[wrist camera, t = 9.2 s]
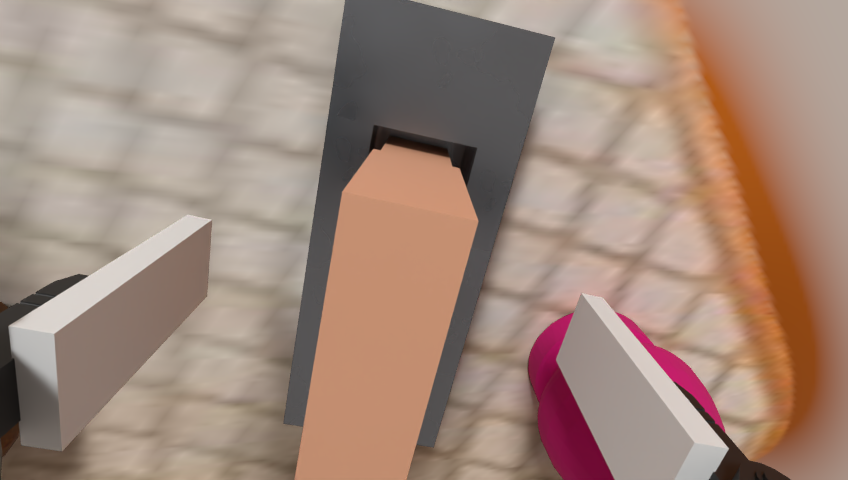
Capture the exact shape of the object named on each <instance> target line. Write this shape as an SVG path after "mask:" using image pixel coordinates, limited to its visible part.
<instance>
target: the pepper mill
mask: <svg viewBox="0 0 848 480" xmlns="http://www.w3.org/2000/svg"><path fill="white" fill-rule="evenodd" d="M615 313H616V312H615ZM573 314H574V313H572V314H569V315H566V316H564V317H562V318H560V319H559V320H557V321H555V322H554V323H552V324H551V325H550V326H549V327H548V328H547V329H545V330H544V332H543V333H542V334H541V335H540V336H539V337H538V338H537V340H536V342H535V344H534V346H533V348H532V350H531V352H530V356H529V365H528V372H529V377H530V380H531V383H532V386H533V388H534V391H535V394H536V396H537V399H538V401H539V408H538V415H537V416H538V429H539V433H540V437H541V441H542V443H543V445H544V447H545V449H546V451H547V454H548V456H549V458H550V460H551V462H552V464H553V466H554V468H555V469H556V470H557V472H558V473H559V474H560V476H561V477H562V478H563V479H564V480H615V479H614V477H613V475H612V473H611V471H610V469H609V467H608V465H607V463H606V461H605V459H604V457H603V455H602V453H601V451H600V449H599V447H598V445H597V443H596V441H595V439H594V437H593V435H592V432H591V430H590V428H589V426H588V424H587V422H586V420H585V418H584V416H583V414H582V412H581V410H580V408H579V406H578V404H577V402H576V400H575V398H574V396H573V394H572V392H571V390H570V388H569V386H568V384H567V382H566V380H565V378H564V376H563V374H562V371H561V369H560V367H559V365H558V363H557V361H556V358H557V355H558V353H559V350H560V348H561V345H562V342H563V340H564V337H565V335H566V332H567V329H568V327H569V324H570V321H571V319H572V316H573ZM616 314H617V315H618V317H619V318H620V319H621V320H622V321H623V323H624V324H625V325H626V326H627V327H628V329H629V330H630V331H631V332H632V333H633V335H634V336H635V337H636V338H637V339H638V341H639V342H640V343H641V344H642V345H643V347H644V348H645V349H646V350H647V351H648V353H649V354H650V355H651V356H652V357H653V358H654V360H655V361H656V362H657V363H658V364H659V366H660V367H661V368H662V369H663V370H664V372H665V373H666V374H667V375H668V376H669V378H670V379H671V380H672V381H673V382H676V383H678V384H679V385H680V386H681V387H683V388H684V389H685V390H687V391H688V392H689V393H690V394H692V395H693V396H694V397H695V398H696V400H697V401H698V402H699V403H700V404H701V405H702V407H703V408H704V409H705V412H708V414H709V415H710V416H711V417H712V418H713V419H714V420H715V424H718V425H719V426H720V427H721V429H722V430H723V431H724V432H725V429H724V426H723V423H722V421H721V418H720V415H719V413H718V411H717V408H716V406H715V404H714V401H713V400H712V398H711V396H710V395H709V393H708V391H707V389H706V388H705V386H704V385H703V384H702V382H701V381H700V380H699V379H698V377H697V376H696V375H695V373H694V372H693V371H692V369H691V368H690V367H689V366H688V365H687V364H686V363H685V362H683V361H682V360H681V359H680V358H678V357H677V356H675V355H674V354H672V353H670V352H668V351H667V350H665V349H662V348H660V347H657V346H654V344H653V343H652V342H651V341H650V340H649V339H648V337H647V336H646V335H645V334H644V333H643V332H642V331H641V330H640V328H639V327H638V326H637V325H636V324H635V323H634V322H633V321H632V320H630V319H629V318H627V317H626V316H624V315H621V314H619V313H616Z"/></svg>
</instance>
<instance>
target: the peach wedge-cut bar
mask: <svg viewBox="0 0 848 480" xmlns="http://www.w3.org/2000/svg"><path fill="white" fill-rule="evenodd" d="M477 225H478V218H477V216H476V213H475V210H474V207H473V205H472V202H471V199H470V196H469V193H468V191H467V188H466V185H465V182H464V179H463V177H462V174H461V171H460V168H457V167H452V163H451V160H450V156H449V153H448V149H446V148H442V147H437V146H433V145H428V144H424V143H420V142H415V141H411V140H406V139H402V138H398V137H393V136H389V138H388V139H387V141H386V143H385V144H384V146H383V148H382V149H381V150H377V149H373V150H372V152H371V153H370V154H369V156H368V157H367V158H366V160H365V161H364V162H363V164H362V165H361V167H360V168H359V169H358V171H357V172H356V173H355V175H354V176H353V178H352V179H351V180H350V182H349V183H348V184H347V186H346V187H345V189H344V190H343V191H342V196H341V202H340V208H339V214H338V220H337V226H336V232H335V239H334V245H333V251H332V257H331V263H330V269H329V275H328V281H327V287H326V293H325V299H324V305H323V311H322V317H321V323H320V329H319V335H318V341H317V347H316V353H315V359H314V365H313V371H312V377H311V383H310V389H309V395H308V402H307V408H306V414H305V420H304V426H303V432H302V438H301V444H300V450H299V456H298V462H297V468H296V474H295V480H406V479H407V476H408V472H409V469H410V465H411V461H412V458H413V454H414V451H415V447H416V444H417V440H418V436H419V433H420V429H421V426H422V422H423V418H424V415H425V411H426V408H427V404H428V401H429V397H430V393H431V390H432V386H433V383H434V379H435V375H436V372H437V368H438V365H439V361H440V358H441V354H442V350H443V347H444V343H445V340H446V336H447V332H448V329H449V325H450V322H451V318H452V314H453V311H454V307H455V304H456V300H457V297H458V293H459V289H460V286H461V282H462V279H463V275H464V271H465V268H466V264H467V261H468V257H469V254H470V250H471V246H472V243H473V239H474V236H475V232H476V228H477Z"/></svg>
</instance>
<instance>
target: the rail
mask: <svg viewBox="0 0 848 480" xmlns="http://www.w3.org/2000/svg"><path fill="white" fill-rule="evenodd" d="M554 40H555V37H551V36H547V35H543V34H539V33H535V32H531V31H528V30H524V29H520V28H516V27H512V26H508V25H504V24H500V23H496V22H492V21H488V20H484V19H480V18H476V17H472V16H468V15H465V14H461V13H457V12H453V11H449V10H445V9H441V8H437V7H433V6H429V5H425V4H421V3H417V2H413V1H409V0H345V6H344V13H343V19H342V26H341V33H340V40H339V47H338V54H337V61H336V67H335V74H334V81H333V88H332V95H331V102H330V108H329V115H328V122H327V129H326V136H325V143H324V149H323V156H322V163H321V170H320V177H319V184H318V191H317V197H316V204H315V211H314V218H313V225H312V232H311V238H310V245H309V252H308V259H307V266H306V273H305V279H304V286H303V293H302V300H301V307H300V314H299V321H298V327H297V334H296V341H295V348H294V355H293V362H292V368H291V375H290V382H289V389H288V396H287V403H286V410H285V416H284V423H283V424H290V425H296V426H302V427H303V426H304V420H305V414H306V408H307V402H308V395H309V389H310V383H311V377H312V371H313V365H314V359H315V353H316V347H317V341H318V335H319V329H320V323H321V317H322V311H323V305H324V299H325V293H326V287H327V281H328V275H329V269H330V263H331V257H332V251H333V245H334V239H335V232H336V226H337V220H338V214H339V208H340V202H341V196H342V191H343V190H344V189H345V187H346V186H347V184H348V183H349V182H350V180H351V179H352V178H353V176H354V175H355V173H356V172H357V171H358V169H359V168H360V167H361V165H362V164H363V162H364V161H365V160H366V158H367V157H368V156H369V154H370V153H371V152H372V150H373V149H377V150H381V149H382V148H383V146H384V144H385V143H386V141H387V139H388V138H389V136H393V137H398V138H402V139H406V140H411V141H415V142H420V143H424V144H428V145H433V146H437V147H442V148H446V149H448V153H449V156H450V160H451V163H452V167H457V168H460V171H461V174H462V177H463V179H464V182H465V185H466V188H467V191H468V193H469V196H470V199H471V202H472V205H473V207H474V210H475V213H476V216H477V218H478V225H477V228H476V232H475V236H474V239H473V243H472V246H471V250H470V254H469V257H468V261H467V264H466V268H465V271H464V275H463V279H462V282H461V286H460V289H459V293H458V297H457V300H456V304H455V307H454V311H453V314H452V318H451V322H450V325H449V329H448V332H447V336H446V340H445V343H444V347H443V350H442V354H441V358H440V361H439V365H438V368H437V372H436V375H435V379H434V383H433V386H432V390H431V393H430V397H429V401H428V404H427V408H426V411H425V415H424V418H423V422H422V426H421V429H420V433H419V436H418V440H417V444H416V445H421V446H427V447H434V444H435V441H436V437H437V434H438V431H439V427H440V424H441V421H442V417H443V414H444V411H445V407H446V404H447V400H448V397H449V394H450V390H451V387H452V384H453V380H454V377H455V373H456V370H457V367H458V363H459V360H460V357H461V353H462V350H463V346H464V343H465V340H466V336H467V333H468V330H469V326H470V323H471V320H472V316H473V313H474V309H475V306H476V303H477V299H478V296H479V293H480V289H481V286H482V282H483V279H484V276H485V272H486V269H487V266H488V262H489V259H490V255H491V252H492V249H493V245H494V242H495V239H496V235H497V232H498V229H499V225H500V222H501V218H502V215H503V212H504V208H505V205H506V202H507V198H508V195H509V191H510V188H511V185H512V181H513V178H514V175H515V171H516V168H517V164H518V161H519V158H520V154H521V151H522V148H523V144H524V141H525V138H526V134H527V131H528V127H529V124H530V121H531V117H532V114H533V111H534V107H535V104H536V100H537V97H538V94H539V90H540V87H541V84H542V80H543V77H544V73H545V70H546V67H547V63H548V60H549V57H550V53H551V50H552V47H553V43H554Z"/></svg>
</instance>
